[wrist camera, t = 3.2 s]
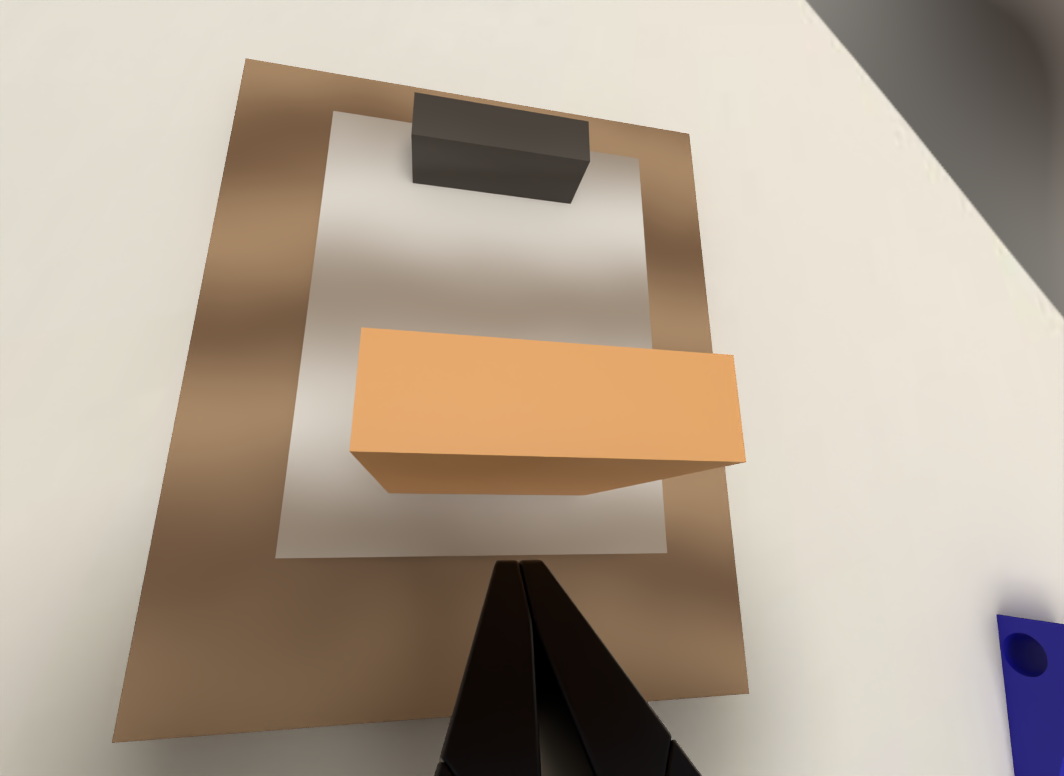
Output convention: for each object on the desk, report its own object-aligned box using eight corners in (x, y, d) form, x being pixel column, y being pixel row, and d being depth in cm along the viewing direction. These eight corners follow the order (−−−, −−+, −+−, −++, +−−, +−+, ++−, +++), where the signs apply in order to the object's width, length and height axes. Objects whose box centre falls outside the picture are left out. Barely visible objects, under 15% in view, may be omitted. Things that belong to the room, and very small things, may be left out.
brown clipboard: (730, 684, 17) (883, 761, 11) (133, 727, 14) (-74, 870, 8) (678, 150, 23) (761, 27, 17) (254, 81, 19) (185, -102, 14)
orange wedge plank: (582, 439, 14) (584, 495, 13) (393, 432, 13) (388, 493, 12) (733, 355, 7) (745, 461, 7) (361, 327, 6) (348, 451, 6)
